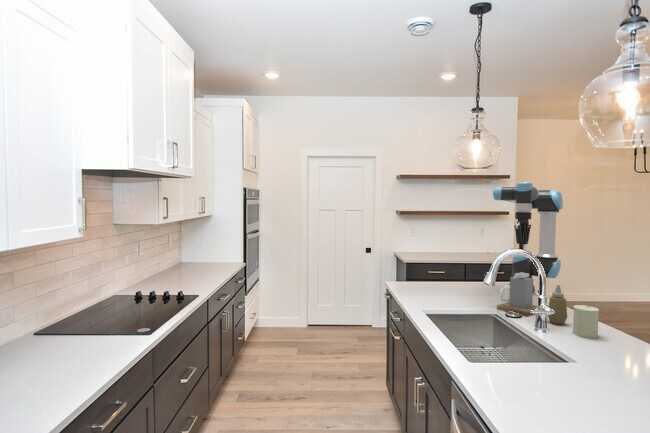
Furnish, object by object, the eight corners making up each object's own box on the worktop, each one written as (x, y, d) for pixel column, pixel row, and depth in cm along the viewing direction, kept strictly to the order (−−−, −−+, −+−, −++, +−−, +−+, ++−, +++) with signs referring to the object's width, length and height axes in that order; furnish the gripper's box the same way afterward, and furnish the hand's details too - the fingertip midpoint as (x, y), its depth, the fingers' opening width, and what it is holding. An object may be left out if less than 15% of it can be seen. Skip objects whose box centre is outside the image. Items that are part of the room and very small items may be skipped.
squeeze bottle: (555, 319, 185) (557, 283, 184) (571, 325, 177) (572, 286, 176) (543, 321, 182) (544, 283, 182) (558, 326, 175) (559, 287, 174)
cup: (519, 301, 218) (520, 287, 218) (503, 302, 217) (503, 288, 217) (512, 298, 225) (512, 285, 225) (496, 298, 224) (496, 285, 224)
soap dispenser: (517, 303, 206) (518, 276, 206) (532, 307, 200) (533, 278, 199) (509, 305, 202) (510, 277, 201) (524, 309, 195) (525, 280, 195)
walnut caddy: (515, 304, 213) (515, 300, 213) (544, 311, 200) (545, 307, 199) (496, 309, 202) (496, 305, 202) (527, 316, 189) (527, 312, 189)
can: (600, 334, 164) (601, 307, 164) (594, 339, 158) (595, 311, 158) (576, 329, 171) (577, 302, 171) (569, 333, 165) (570, 306, 165)
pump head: (521, 289, 204) (521, 272, 204) (528, 291, 201) (529, 273, 201) (510, 292, 198) (510, 274, 198) (517, 293, 195) (518, 275, 195)
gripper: (524, 212, 193) (522, 258, 194) (536, 211, 200) (535, 256, 201) (509, 211, 199) (508, 256, 200) (522, 211, 206) (521, 254, 207)
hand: (522, 256), depth 201 cm, fingers closed
